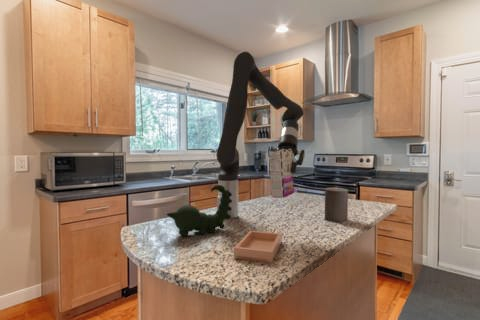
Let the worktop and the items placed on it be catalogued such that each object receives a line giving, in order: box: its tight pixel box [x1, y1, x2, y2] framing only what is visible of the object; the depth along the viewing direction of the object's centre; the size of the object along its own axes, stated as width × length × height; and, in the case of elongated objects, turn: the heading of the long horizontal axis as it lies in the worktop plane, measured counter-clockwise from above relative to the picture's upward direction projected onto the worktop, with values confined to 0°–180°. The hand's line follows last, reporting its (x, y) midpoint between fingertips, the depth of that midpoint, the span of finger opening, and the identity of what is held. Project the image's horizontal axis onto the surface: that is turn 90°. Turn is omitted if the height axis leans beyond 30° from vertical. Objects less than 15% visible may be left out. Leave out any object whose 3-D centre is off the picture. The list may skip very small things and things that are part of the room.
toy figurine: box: [166, 184, 232, 238], centre depth 99 cm, size 9×19×25 cm
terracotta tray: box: [233, 230, 283, 263], centre depth 82 cm, size 11×17×3 cm, turn 162°
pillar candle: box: [324, 187, 349, 223], centre depth 117 cm, size 10×10×15 cm
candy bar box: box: [268, 149, 295, 199], centre depth 95 cm, size 11×5×16 cm, turn 150°
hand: (284, 171), depth 97 cm, fingers closed on candy bar box, 5 cm apart
